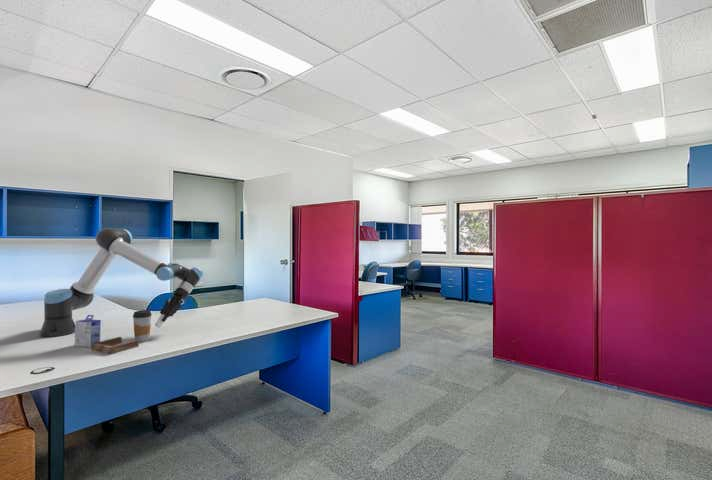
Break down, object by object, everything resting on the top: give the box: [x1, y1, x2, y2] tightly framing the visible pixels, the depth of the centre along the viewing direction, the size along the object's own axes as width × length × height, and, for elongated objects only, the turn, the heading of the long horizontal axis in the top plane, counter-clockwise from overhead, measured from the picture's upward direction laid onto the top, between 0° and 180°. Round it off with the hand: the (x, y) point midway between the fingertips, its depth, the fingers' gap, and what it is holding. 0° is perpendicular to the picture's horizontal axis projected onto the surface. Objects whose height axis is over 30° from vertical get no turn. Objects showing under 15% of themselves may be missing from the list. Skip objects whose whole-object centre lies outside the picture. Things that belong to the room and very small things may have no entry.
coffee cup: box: [132, 309, 152, 343], centre depth 183 cm, size 8×8×15 cm
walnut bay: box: [91, 336, 140, 355], centre depth 170 cm, size 14×13×3 cm
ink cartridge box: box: [74, 314, 102, 348], centre depth 175 cm, size 10×6×14 cm, turn 78°
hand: (157, 326), depth 190 cm, fingers closed
